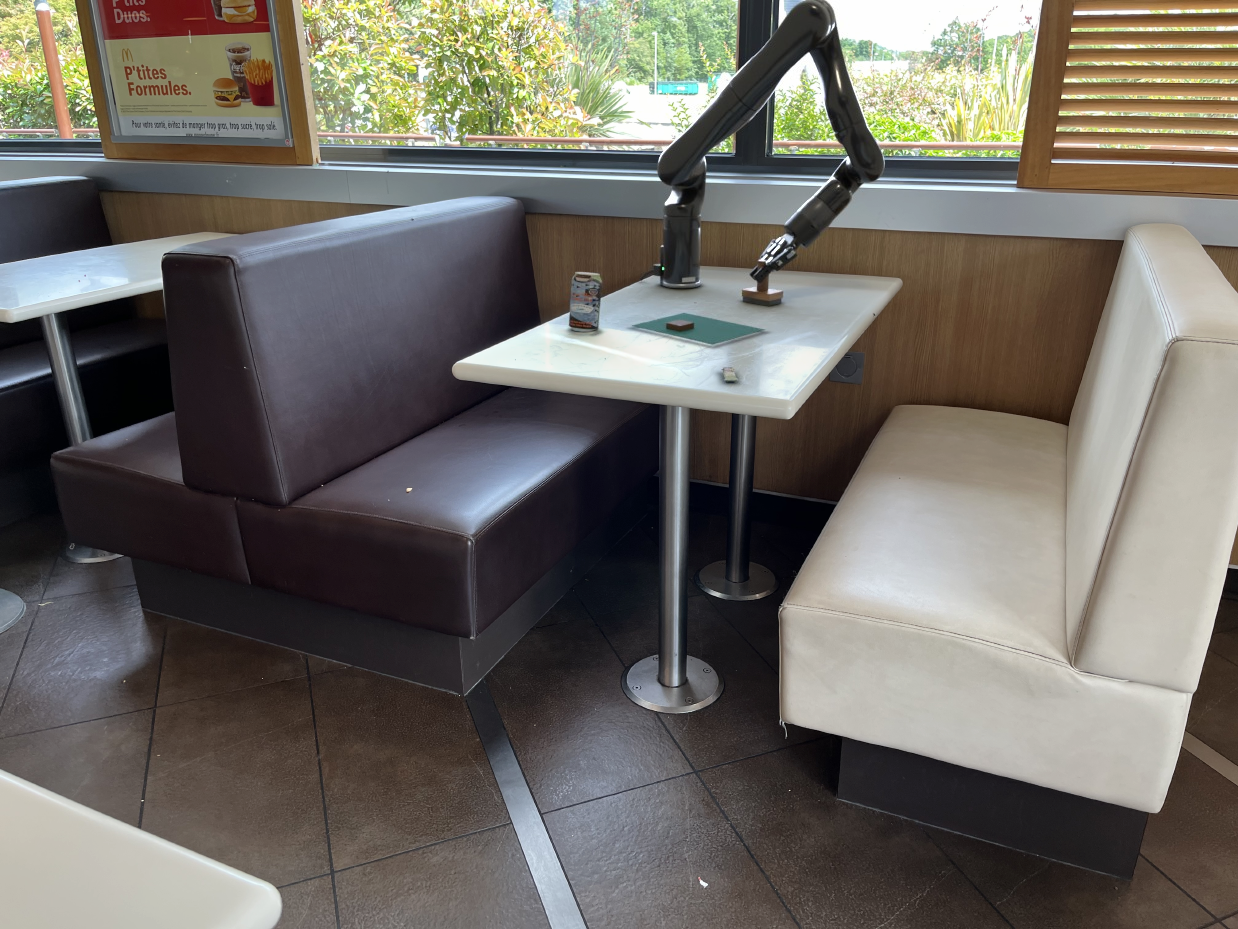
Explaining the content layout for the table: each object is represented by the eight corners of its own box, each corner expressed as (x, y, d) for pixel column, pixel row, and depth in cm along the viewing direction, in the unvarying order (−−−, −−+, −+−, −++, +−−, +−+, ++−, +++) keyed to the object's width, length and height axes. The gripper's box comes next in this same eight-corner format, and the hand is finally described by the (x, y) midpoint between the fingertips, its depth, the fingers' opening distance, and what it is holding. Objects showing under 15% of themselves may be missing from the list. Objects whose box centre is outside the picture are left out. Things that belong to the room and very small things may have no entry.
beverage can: (563, 333, 180) (561, 273, 175) (581, 325, 186) (580, 267, 181) (590, 336, 177) (589, 276, 172) (608, 328, 183) (607, 270, 178)
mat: (631, 328, 183) (631, 325, 183) (684, 315, 193) (684, 312, 193) (712, 347, 168) (712, 344, 168) (765, 332, 178) (765, 329, 178)
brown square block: (666, 328, 180) (666, 322, 180) (679, 325, 183) (679, 319, 182) (680, 331, 177) (680, 325, 177) (694, 328, 180) (694, 322, 179)
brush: (741, 301, 206) (742, 259, 202) (754, 298, 209) (756, 257, 205) (769, 306, 200) (771, 263, 197) (782, 303, 203) (785, 260, 200)
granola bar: (738, 383, 147) (738, 377, 146) (724, 383, 147) (724, 377, 146) (734, 371, 153) (734, 365, 153) (720, 371, 153) (720, 365, 153)
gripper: (789, 206, 204) (735, 262, 207) (809, 213, 191) (751, 273, 194) (810, 229, 207) (756, 284, 210) (831, 238, 194) (773, 296, 197)
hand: (754, 278), depth 202 cm, fingers closed on brush, 2 cm apart
